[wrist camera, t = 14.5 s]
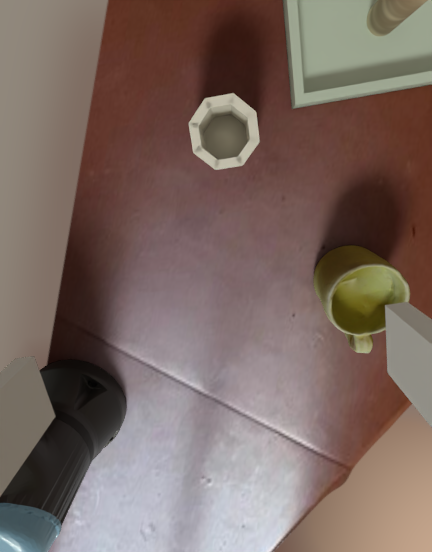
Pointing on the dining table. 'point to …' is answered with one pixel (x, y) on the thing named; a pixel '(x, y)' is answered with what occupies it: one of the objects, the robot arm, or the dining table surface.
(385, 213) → the dining table surface
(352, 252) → the mug
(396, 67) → the tray
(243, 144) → the crock
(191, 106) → the dining table surface
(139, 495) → the dining table surface
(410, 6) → the dowel
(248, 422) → the dining table surface
